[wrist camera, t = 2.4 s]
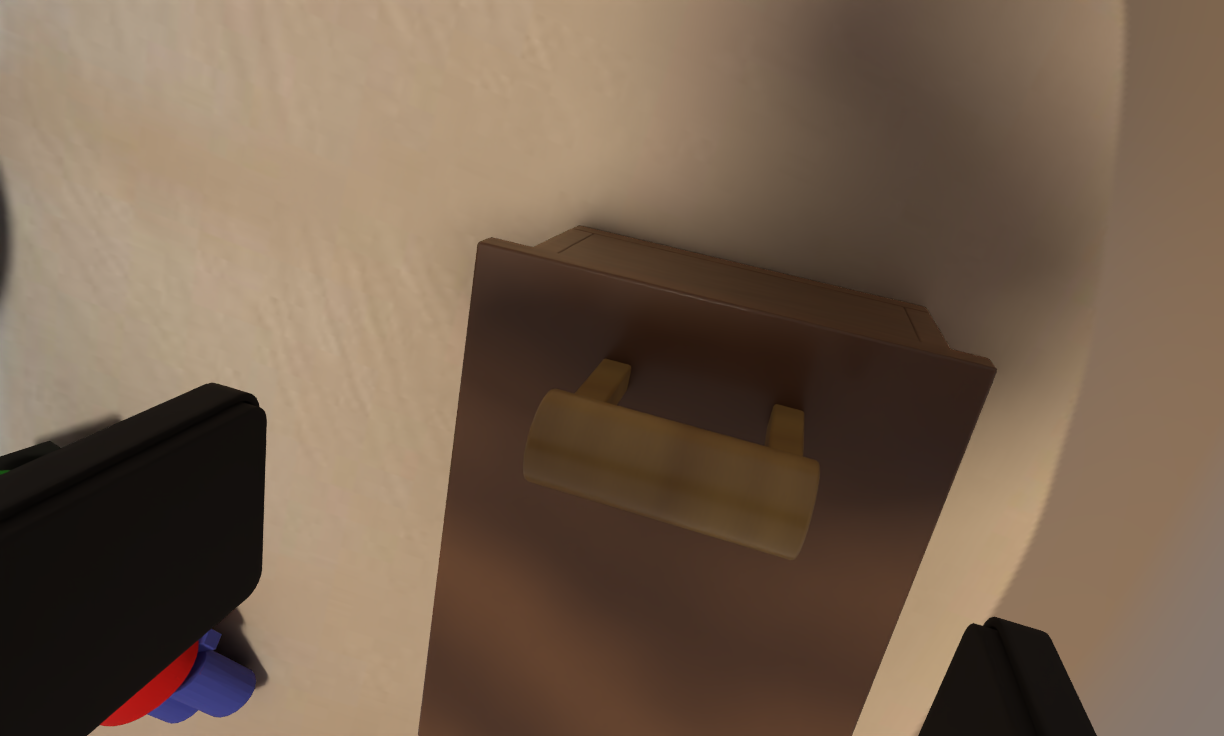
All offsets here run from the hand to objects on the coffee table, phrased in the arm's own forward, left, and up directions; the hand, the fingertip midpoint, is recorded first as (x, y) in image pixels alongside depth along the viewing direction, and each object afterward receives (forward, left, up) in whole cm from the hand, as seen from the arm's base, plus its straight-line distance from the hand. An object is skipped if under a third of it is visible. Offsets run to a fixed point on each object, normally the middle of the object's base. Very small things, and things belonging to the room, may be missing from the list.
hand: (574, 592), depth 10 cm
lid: (+5, +3, -9) cm, 11 cm away
